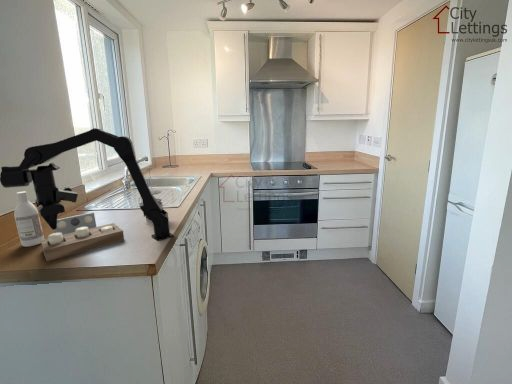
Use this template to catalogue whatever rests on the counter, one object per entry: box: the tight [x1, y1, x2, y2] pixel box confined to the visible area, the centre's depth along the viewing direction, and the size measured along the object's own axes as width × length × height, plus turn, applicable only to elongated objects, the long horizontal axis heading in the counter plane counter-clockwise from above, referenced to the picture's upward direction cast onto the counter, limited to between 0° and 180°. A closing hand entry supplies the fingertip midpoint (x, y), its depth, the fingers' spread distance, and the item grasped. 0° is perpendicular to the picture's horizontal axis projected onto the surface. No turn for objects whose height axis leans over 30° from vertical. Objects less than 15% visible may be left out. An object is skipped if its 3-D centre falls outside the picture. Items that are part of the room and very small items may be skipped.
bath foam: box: [13, 191, 45, 248], centre depth 103 cm, size 7×7×20 cm
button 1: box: [47, 232, 64, 245], centre depth 96 cm, size 4×4×4 cm
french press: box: [138, 166, 164, 226], centre depth 123 cm, size 10×12×25 cm
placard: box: [54, 211, 97, 235], centre depth 111 cm, size 1×14×8 cm, turn 132°
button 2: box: [101, 226, 113, 233], centre depth 106 cm, size 4×4×4 cm
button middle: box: [75, 227, 90, 239], centre depth 101 cm, size 4×4×4 cm
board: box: [40, 222, 125, 262], centre depth 101 cm, size 12×24×4 cm, turn 132°
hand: (54, 229), depth 95 cm, fingers closed
